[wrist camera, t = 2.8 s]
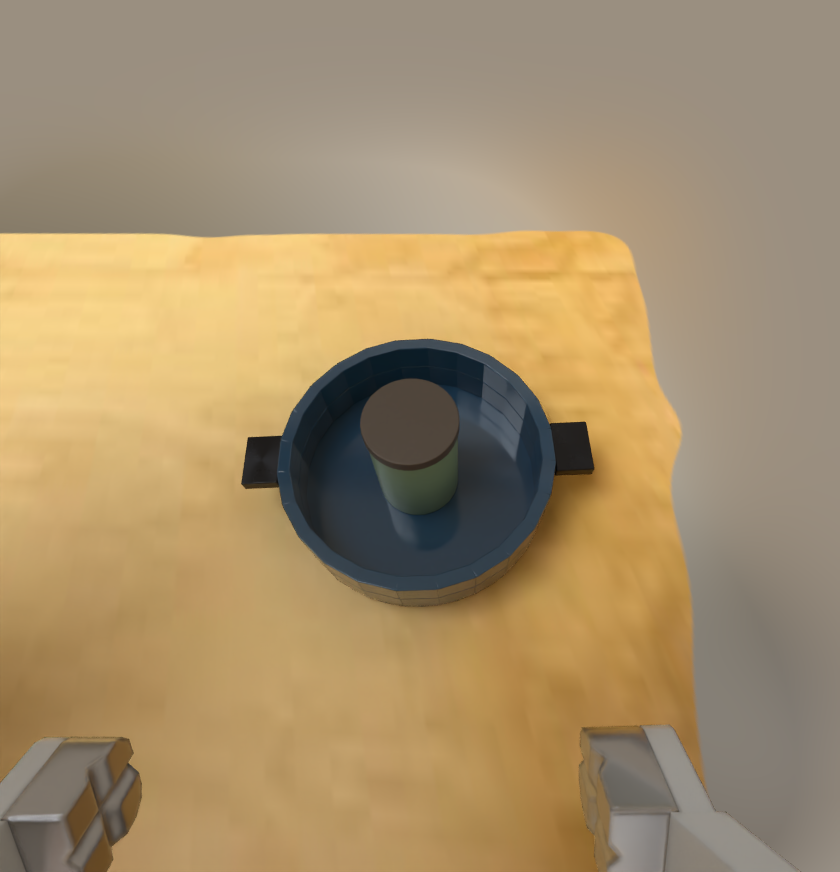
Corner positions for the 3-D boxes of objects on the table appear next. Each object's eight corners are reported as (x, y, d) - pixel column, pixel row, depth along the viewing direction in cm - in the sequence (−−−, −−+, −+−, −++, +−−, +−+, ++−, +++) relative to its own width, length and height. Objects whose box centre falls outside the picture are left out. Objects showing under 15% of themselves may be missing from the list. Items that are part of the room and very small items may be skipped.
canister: (378, 518, 36) (358, 467, 29) (379, 444, 39) (361, 380, 31) (461, 515, 36) (462, 462, 29) (457, 440, 38) (456, 375, 31)
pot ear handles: (245, 489, 34) (240, 484, 33) (251, 442, 36) (247, 436, 35) (591, 474, 33) (595, 469, 32) (583, 427, 35) (586, 421, 34)
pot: (285, 610, 34) (262, 595, 30) (306, 382, 42) (290, 345, 38) (560, 602, 33) (574, 585, 29) (530, 370, 41) (537, 332, 37)
